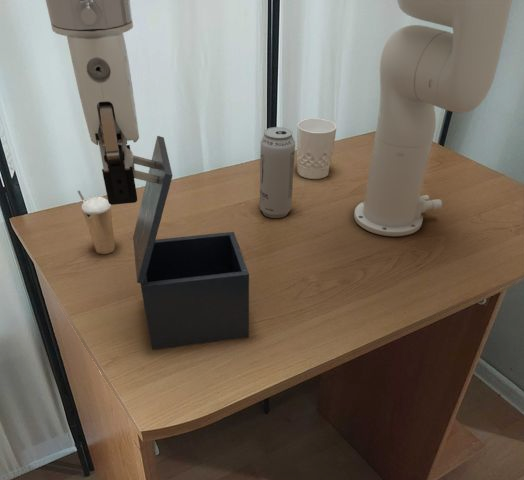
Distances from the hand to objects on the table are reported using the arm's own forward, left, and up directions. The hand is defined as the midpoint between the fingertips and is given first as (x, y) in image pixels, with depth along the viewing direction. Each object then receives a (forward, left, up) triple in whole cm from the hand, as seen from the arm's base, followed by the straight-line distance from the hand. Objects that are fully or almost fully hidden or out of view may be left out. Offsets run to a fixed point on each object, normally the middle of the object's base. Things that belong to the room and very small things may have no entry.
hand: (122, 189), depth 62 cm
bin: (-7, 0, -21) cm, 22 cm away
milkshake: (+6, -22, -21) cm, 31 cm away
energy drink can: (-26, -29, -21) cm, 45 cm away
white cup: (-38, -44, -21) cm, 62 cm away
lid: (-3, 0, -3) cm, 5 cm away
